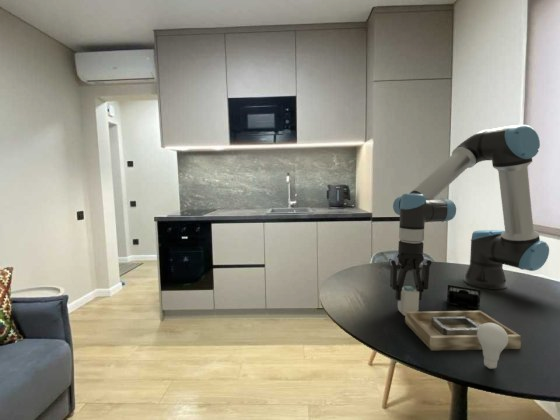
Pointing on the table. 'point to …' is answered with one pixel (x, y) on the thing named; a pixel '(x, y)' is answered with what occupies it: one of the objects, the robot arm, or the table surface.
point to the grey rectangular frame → (462, 320)
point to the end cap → (463, 298)
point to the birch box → (437, 341)
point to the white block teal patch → (410, 300)
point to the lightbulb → (492, 342)
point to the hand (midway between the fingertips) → (407, 309)
